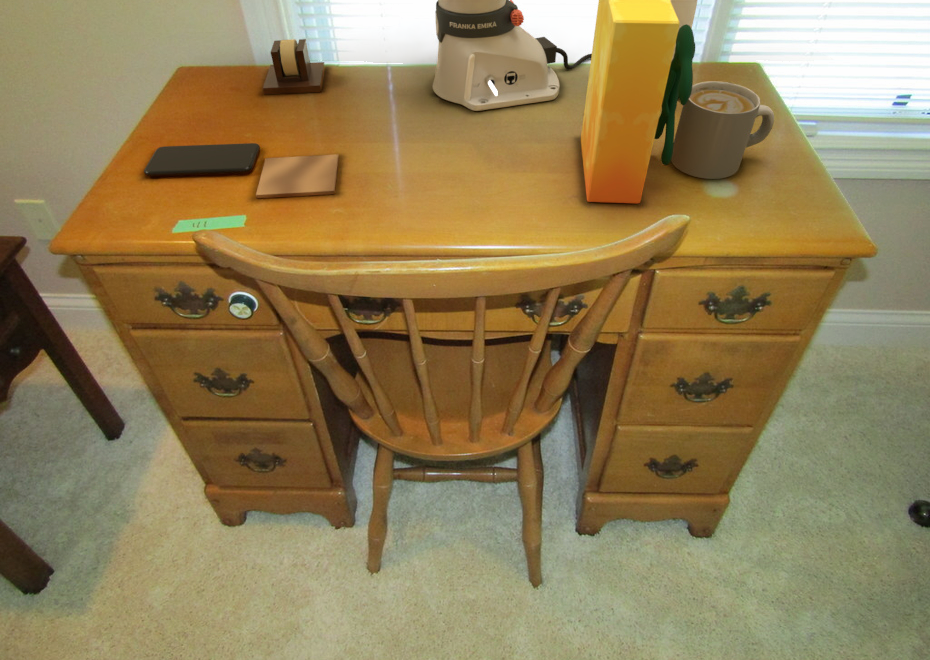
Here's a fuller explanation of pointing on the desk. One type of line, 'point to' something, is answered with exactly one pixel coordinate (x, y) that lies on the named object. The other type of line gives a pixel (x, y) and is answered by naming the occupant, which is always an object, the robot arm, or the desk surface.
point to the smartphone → (202, 159)
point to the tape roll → (289, 57)
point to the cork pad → (298, 176)
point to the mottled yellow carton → (632, 94)
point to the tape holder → (299, 83)
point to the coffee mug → (718, 129)
